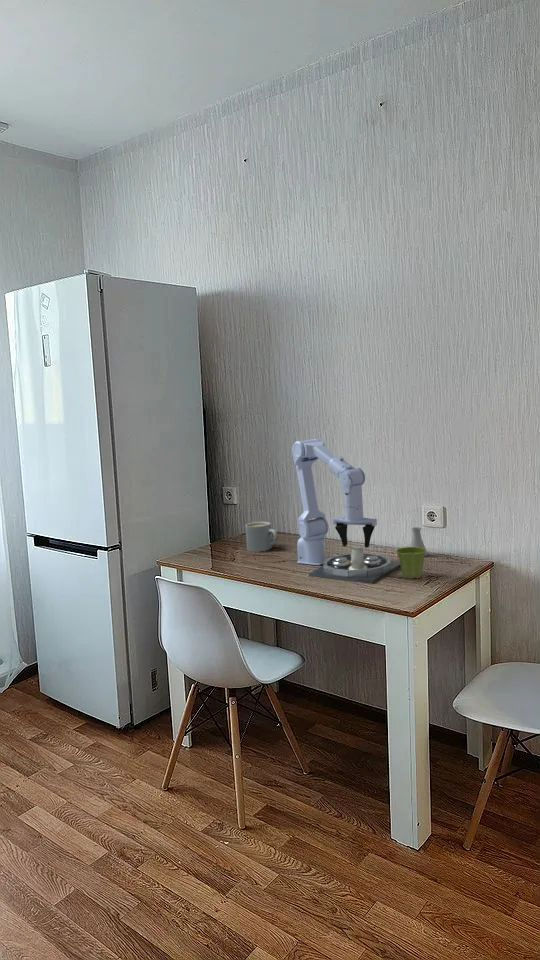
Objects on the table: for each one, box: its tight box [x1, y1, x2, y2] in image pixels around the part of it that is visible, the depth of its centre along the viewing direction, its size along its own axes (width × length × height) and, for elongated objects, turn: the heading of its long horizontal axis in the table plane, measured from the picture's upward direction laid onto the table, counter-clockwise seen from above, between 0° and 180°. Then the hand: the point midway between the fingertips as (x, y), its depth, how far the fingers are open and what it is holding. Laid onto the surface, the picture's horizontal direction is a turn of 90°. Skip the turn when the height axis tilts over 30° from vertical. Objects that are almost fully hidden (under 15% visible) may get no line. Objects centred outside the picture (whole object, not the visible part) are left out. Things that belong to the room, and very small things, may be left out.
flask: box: [409, 526, 429, 557], centre depth 245 cm, size 7×7×10 cm
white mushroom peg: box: [349, 546, 367, 570], centre depth 226 cm, size 6×6×8 cm
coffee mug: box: [244, 521, 279, 553], centre depth 270 cm, size 13×10×10 cm
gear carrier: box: [308, 552, 401, 584], centre depth 232 cm, size 24×24×4 cm
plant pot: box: [396, 546, 427, 580], centre depth 220 cm, size 9×9×9 cm
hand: (356, 546), depth 225 cm, fingers open, 7 cm apart
